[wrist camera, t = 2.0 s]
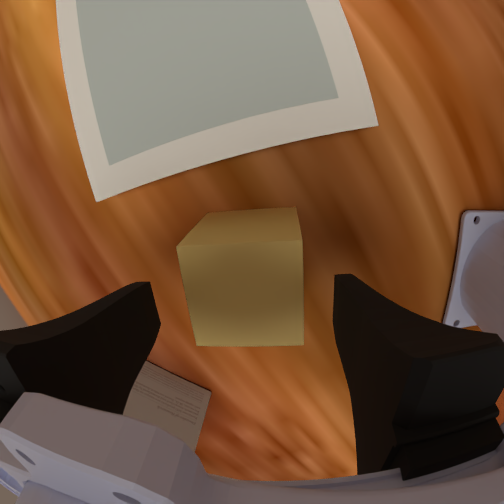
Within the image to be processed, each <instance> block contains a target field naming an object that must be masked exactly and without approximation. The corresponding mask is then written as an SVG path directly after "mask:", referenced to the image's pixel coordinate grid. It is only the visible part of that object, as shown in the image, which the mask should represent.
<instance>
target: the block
mask: <svg viewBox="0 0 504 504" xmlns="http://www.w3.org/2000/svg"><path fill="white" fill-rule="evenodd" d="M176 249H177V254H178V260H179V265H180V270H181V276H182V281H183V286H184V291H185V295H186V300H187V305H188V309H189V314H190V319H191V323H192V327H193V332H194V336H195V340H196V344H197V346H290V345H304V280H303V241H302V235H301V229H300V224H299V219H298V214H297V209H296V207H284V208H266V209H250V210H235V211H221V212H208V213H207V214H206V215H205V216H204V217H203V218H202V219H201V220H200V221H199V222H198V223H197V224H196V226H195V227H194V228H193V229H192V230H191V231H190V232H189V233H188V234H187V235H186V236H185V238H184V239H183V240H182V241H181V242H180V243H179V244H178V245H177V246H176Z"/></svg>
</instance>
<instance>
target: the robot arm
mask: <svg viewBox="0 0 504 504" xmlns="http://www.w3.org/2000/svg"><path fill="white" fill-rule="evenodd" d="M475 216H476V217H477V219H476V221H475V222H474V218H475ZM456 320H457V321H456ZM455 321H456V322H455ZM454 322H455V323H454ZM474 325H478V326H479V328H480V329H481V330H482V331H483V332H480V331H472V330H467V329H462V328H463V327H468V326H474ZM160 326H161V322H160V319H159V315H158V311H157V308H156V304H155V300H154V296H153V292H152V288H151V284H150V282H135V283H132V284H129V285H127V286H125V287H123V288H121V289H119V290H117V291H115V292H113V293H111V294H109V295H107V296H105V297H103V298H101V299H99V300H97V301H95V302H93V303H91V304H89V305H87V306H85V307H83V308H81V309H79V310H77V311H74V312H72V313H70V314H67V315H64V316H62V317H59V318H56V319H53V320H50V321H47V322H43V323H40V324H37V325H33V326H28V327H24V328H19V329H12V330H4V331H0V484H2V485H3V486H4V487H6V488H7V489H8V490H10V491H11V492H12V493H14V494H15V495H17V496H18V499H17V500H16V503H15V504H504V422H503V423H502V424H501V425H500V426H499V424H498V422H497V420H496V417H498V415H499V409H498V408H497V406H496V404H495V403H496V401H497V399H498V397H499V396H500V394H501V392H502V390H503V388H504V211H490V210H467V211H465V212H464V213H463V215H462V218H461V226H460V234H459V242H458V249H457V256H456V262H455V268H454V274H453V279H452V284H451V289H450V294H449V298H448V303H447V307H446V311H445V315H444V319H443V323H439V322H437V321H434V320H431V319H428V318H425V317H423V316H420V315H418V314H416V313H414V312H411V311H409V310H407V309H405V308H403V307H401V306H399V305H398V304H396V303H394V302H392V301H391V300H389V299H387V298H386V297H384V296H383V295H381V294H380V293H378V292H377V291H375V290H374V289H372V288H371V287H369V286H368V285H367V284H365V283H364V282H362V281H361V280H359V279H358V278H357V277H355V276H354V275H352V274H338V275H335V278H334V304H333V327H334V334H335V340H336V344H337V348H338V351H339V355H340V358H341V362H342V365H343V369H344V372H345V376H346V379H347V383H348V387H349V391H350V396H351V403H352V411H353V419H354V428H355V438H356V452H357V474H358V475H355V476H348V477H339V478H330V479H317V480H300V481H248V480H237V479H232V478H227V477H222V476H218V475H213V474H209V473H206V471H205V469H204V467H203V465H202V463H201V461H200V459H199V457H198V456H197V455H196V454H195V453H194V452H193V451H192V450H191V449H190V447H189V446H188V445H187V444H186V443H185V442H184V441H183V440H182V439H181V438H179V437H177V436H175V435H174V434H172V433H170V432H168V431H167V430H165V429H163V428H161V427H160V426H158V425H155V424H152V423H149V422H146V421H142V420H139V419H136V418H133V417H130V416H125V415H123V412H124V409H125V406H126V403H127V400H128V397H129V394H130V391H131V389H132V387H133V385H134V382H135V380H136V378H137V377H138V375H139V373H140V371H141V369H142V367H143V365H144V363H145V361H146V359H147V357H148V355H149V353H150V351H151V350H152V348H153V345H154V343H155V341H156V338H157V335H158V332H159V329H160Z"/></svg>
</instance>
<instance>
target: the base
mask: <svg viewBox="0 0 504 504" xmlns="http://www.w3.org/2000/svg"><path fill="white" fill-rule="evenodd" d="M56 11H57V23H58V33H59V42H60V50H61V57H62V64H63V70H64V76H65V82H66V88H67V93H68V98H69V103H70V108H71V112H72V117H73V121H74V125H75V130H76V134H77V138H78V142H79V146H80V149H81V153H82V157H83V160H84V164H85V167H86V171H87V174H88V177H89V181H90V184H91V187H92V190H93V193H94V197H95V200H96V202H99V201H101V200H104V199H106V198H109V197H111V196H114V195H117V194H119V193H122V192H125V191H127V190H130V189H133V188H135V187H138V186H141V185H144V184H147V183H150V182H152V181H155V180H158V179H161V178H164V177H167V176H170V175H173V174H176V173H180V172H183V171H186V170H189V169H192V168H196V167H199V166H202V165H206V164H209V163H212V162H216V161H219V160H223V159H226V158H230V157H234V156H237V155H241V154H245V153H249V152H252V151H256V150H260V149H264V148H268V147H272V146H277V145H281V144H285V143H290V142H294V141H299V140H303V139H308V138H313V137H318V136H323V135H328V134H333V133H338V132H344V131H349V130H355V129H361V128H367V127H374V126H379V125H378V121H377V117H376V113H375V109H374V105H373V101H372V97H371V93H370V90H369V86H368V83H367V79H366V76H365V72H364V69H363V66H362V63H361V60H360V56H359V53H358V50H357V47H356V44H355V42H354V39H353V36H352V33H351V30H350V28H349V25H348V22H347V20H346V17H345V15H344V12H343V10H342V7H341V5H340V2H339V0H56Z"/></svg>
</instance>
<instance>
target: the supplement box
mask: <svg viewBox="0 0 504 504" xmlns="http://www.w3.org/2000/svg"><path fill="white" fill-rule="evenodd" d="M210 396H211V392H210V391H208V390H206V389H204V388H201V387H199V386H197V385H195V384H193V383H191V382H188V381H186V380H184V379H182V378H180V377H178V376H176V375H174V374H171V373H170V372H168V371H166V370H164V369H162V368H160V367H158V366H156V365H154V364H152V363H150V362H148V361H145V363H144V365H143V367H142V369H141V371H140V373H139V375H138V377H137V378H136V380H135V382H134V385H133V387H132V389H131V391H130V394H129V397H128V400H127V403H126V406H125V409H124V412H123V415H125V416H130V417H133V418H136V419H139V420H142V421H146V422H149V423H152V424H155V425H158V426H160V427H161V428H163V429H165V430H167V431H168V432H170V433H172V434H174V435H175V436H177V437H179V438H181V439H182V440H183V441H184V442H185V443H186V444H187V445H188V446H189V447H190V449H191V450H192V451H193V452H194V453H195V449H196V446H197V442H198V438H199V435H200V431H201V428H202V424H203V420H204V417H205V414H206V410H207V406H208V403H209V399H210Z"/></svg>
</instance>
